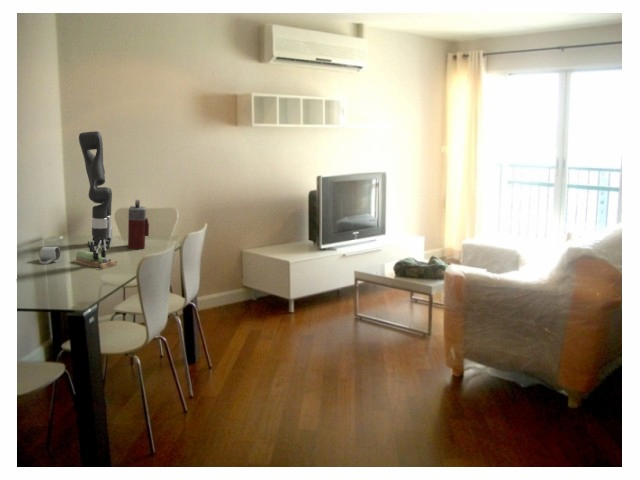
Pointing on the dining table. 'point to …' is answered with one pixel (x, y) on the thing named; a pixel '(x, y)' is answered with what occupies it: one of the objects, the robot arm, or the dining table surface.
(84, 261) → the rest
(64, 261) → the dining table surface
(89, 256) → the bottle
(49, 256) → the ceramic mug
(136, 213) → the dark red tall container
